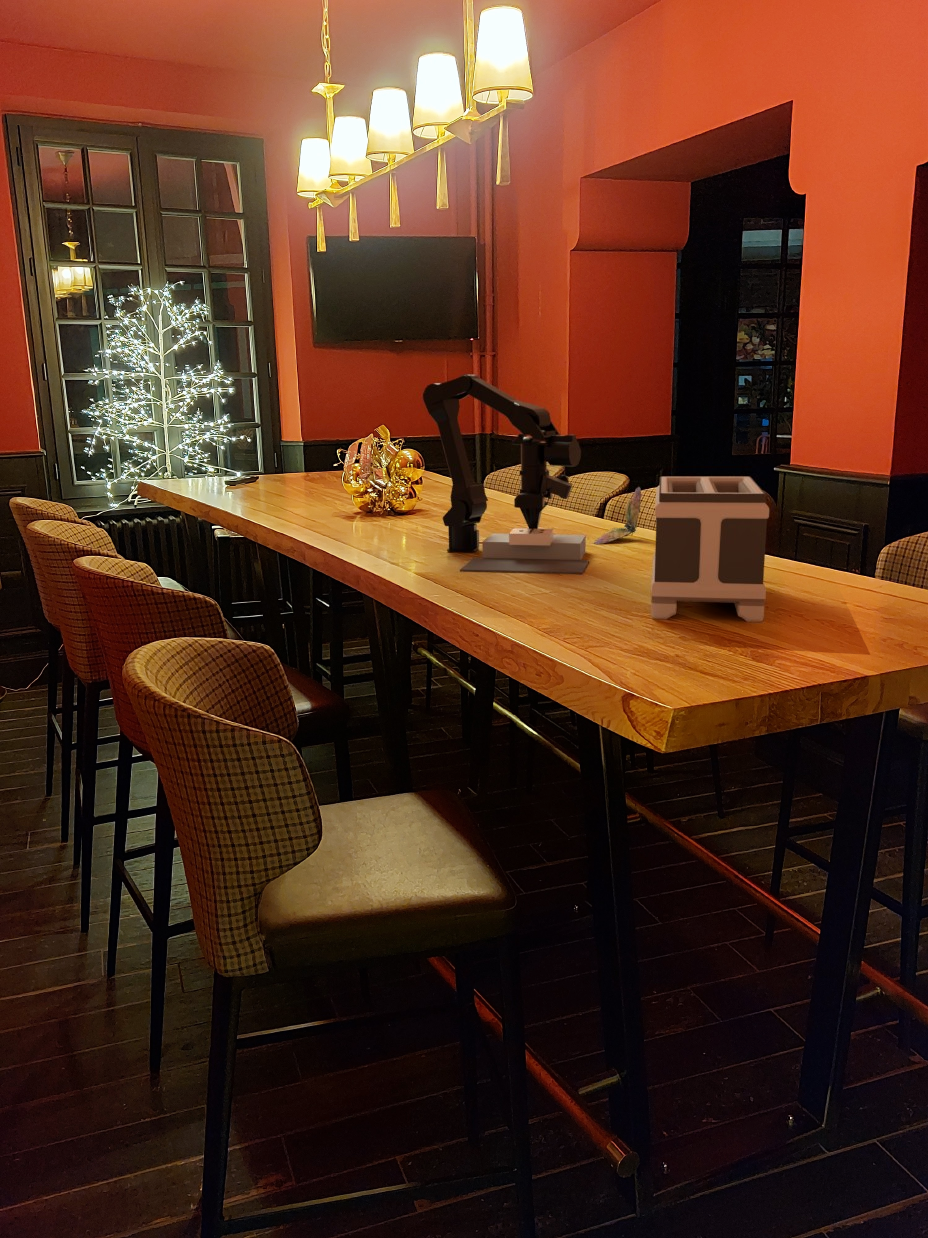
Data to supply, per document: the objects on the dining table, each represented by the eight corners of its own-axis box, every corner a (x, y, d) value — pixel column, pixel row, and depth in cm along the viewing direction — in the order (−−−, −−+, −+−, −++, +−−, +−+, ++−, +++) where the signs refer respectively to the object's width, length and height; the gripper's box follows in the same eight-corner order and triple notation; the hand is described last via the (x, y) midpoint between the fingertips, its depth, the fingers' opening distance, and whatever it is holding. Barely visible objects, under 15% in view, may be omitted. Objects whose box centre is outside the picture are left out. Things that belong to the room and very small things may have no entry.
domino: (509, 544, 211) (509, 533, 210) (513, 539, 217) (513, 527, 216) (549, 545, 209) (549, 533, 208) (553, 539, 215) (553, 528, 214)
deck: (482, 559, 216) (482, 541, 215) (492, 550, 227) (492, 533, 226) (580, 561, 211) (580, 543, 210) (585, 551, 222) (585, 534, 221)
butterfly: (648, 493, 242) (619, 474, 237) (666, 504, 233) (636, 484, 229) (610, 550, 245) (581, 532, 241) (626, 563, 236) (596, 545, 232)
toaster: (747, 581, 188) (753, 473, 183) (764, 624, 155) (772, 494, 150) (652, 579, 191) (655, 473, 186) (649, 620, 159) (653, 494, 154)
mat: (459, 571, 203) (459, 569, 203) (473, 559, 216) (473, 557, 216) (582, 574, 197) (582, 572, 197) (589, 561, 210) (589, 560, 210)
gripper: (565, 468, 202) (565, 541, 206) (574, 461, 220) (573, 528, 224) (513, 469, 204) (514, 541, 208) (526, 461, 222) (526, 528, 226)
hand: (534, 534), depth 216 cm, fingers closed
